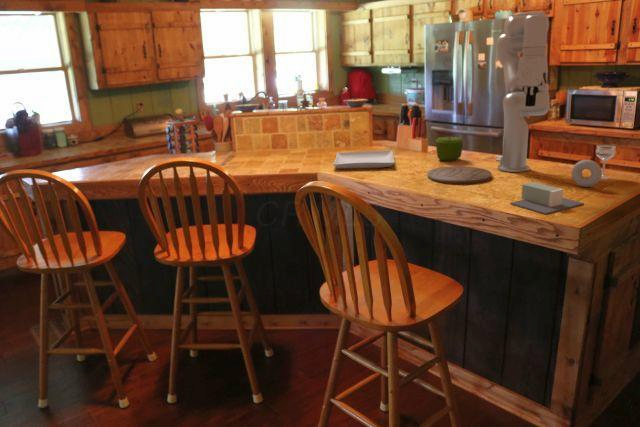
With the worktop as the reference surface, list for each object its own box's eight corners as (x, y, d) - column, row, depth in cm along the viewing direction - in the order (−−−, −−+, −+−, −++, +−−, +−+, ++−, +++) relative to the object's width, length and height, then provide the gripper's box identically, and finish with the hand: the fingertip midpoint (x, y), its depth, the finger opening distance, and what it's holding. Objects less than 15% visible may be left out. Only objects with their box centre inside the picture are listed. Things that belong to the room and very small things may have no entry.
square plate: (392, 157, 258) (392, 149, 257) (395, 170, 232) (394, 161, 231) (337, 158, 261) (336, 151, 260) (333, 171, 235) (333, 163, 234)
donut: (601, 187, 190) (604, 160, 187) (598, 189, 188) (601, 162, 185) (572, 184, 197) (574, 157, 194) (568, 186, 194) (571, 159, 191)
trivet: (498, 173, 219) (498, 168, 218) (482, 188, 198) (482, 183, 198) (439, 168, 231) (439, 164, 231) (418, 182, 211) (418, 177, 210)
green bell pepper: (457, 163, 237) (458, 138, 234) (431, 161, 243) (431, 137, 240) (465, 158, 247) (466, 134, 244) (440, 156, 253) (441, 132, 250)
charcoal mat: (510, 204, 176) (510, 202, 176) (547, 195, 184) (547, 193, 184) (545, 214, 164) (545, 213, 164) (583, 204, 172) (583, 203, 172)
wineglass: (607, 180, 199) (610, 148, 196) (589, 177, 205) (592, 146, 201) (616, 177, 203) (619, 146, 199) (598, 174, 208) (601, 143, 205)
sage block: (522, 184, 178) (552, 191, 168) (532, 182, 181) (563, 189, 170) (521, 198, 180) (551, 207, 170) (531, 196, 182) (561, 204, 172)
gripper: (509, 53, 189) (506, 105, 195) (544, 52, 176) (540, 108, 182) (524, 52, 192) (521, 103, 198) (559, 51, 180) (555, 106, 185)
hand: (530, 105), depth 190 cm, fingers closed
